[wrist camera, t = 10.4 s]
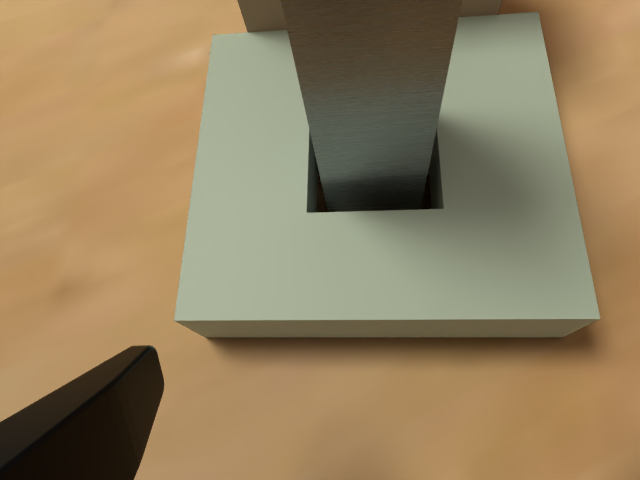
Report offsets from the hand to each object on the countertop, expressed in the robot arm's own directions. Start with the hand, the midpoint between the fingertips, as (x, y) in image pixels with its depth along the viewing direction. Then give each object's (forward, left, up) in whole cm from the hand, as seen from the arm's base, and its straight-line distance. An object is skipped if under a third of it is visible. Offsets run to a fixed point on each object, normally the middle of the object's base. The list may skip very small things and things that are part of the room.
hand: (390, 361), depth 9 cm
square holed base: (+10, 0, -8) cm, 14 cm away
